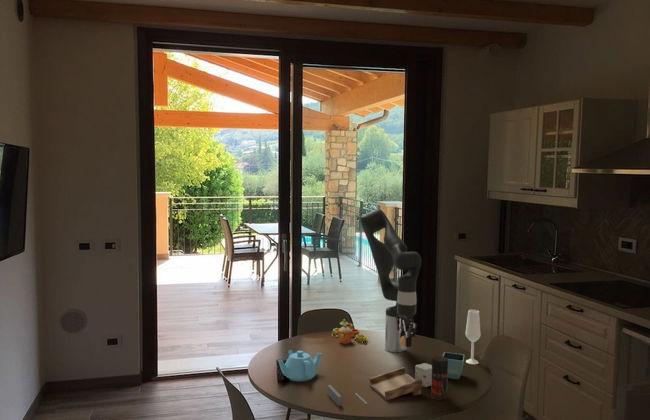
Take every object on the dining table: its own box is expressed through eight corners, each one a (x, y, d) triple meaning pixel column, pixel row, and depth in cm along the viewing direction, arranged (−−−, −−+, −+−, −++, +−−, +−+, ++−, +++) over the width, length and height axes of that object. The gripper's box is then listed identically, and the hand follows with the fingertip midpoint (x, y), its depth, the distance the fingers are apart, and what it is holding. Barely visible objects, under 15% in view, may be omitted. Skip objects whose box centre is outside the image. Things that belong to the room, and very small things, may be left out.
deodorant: (429, 393, 197) (430, 356, 196) (444, 393, 197) (445, 355, 197) (433, 400, 191) (434, 361, 190) (449, 400, 192) (450, 361, 191)
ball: (398, 345, 203) (398, 334, 202) (407, 344, 204) (408, 333, 204) (403, 348, 198) (403, 337, 198) (413, 347, 200) (413, 336, 199)
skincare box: (414, 382, 208) (414, 365, 207) (424, 379, 211) (424, 362, 211) (425, 387, 203) (426, 369, 202) (435, 384, 206) (436, 366, 206)
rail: (330, 393, 196) (330, 384, 195) (341, 405, 185) (341, 396, 185) (327, 394, 195) (327, 385, 195) (338, 406, 185) (338, 396, 185)
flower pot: (464, 374, 217) (464, 354, 217) (462, 382, 209) (463, 361, 208) (443, 371, 220) (443, 351, 219) (441, 379, 212) (441, 358, 211)
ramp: (403, 381, 209) (404, 366, 209) (422, 394, 196) (422, 379, 196) (368, 386, 203) (369, 371, 203) (385, 400, 190) (385, 385, 190)
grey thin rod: (351, 388, 201) (351, 387, 201) (368, 403, 187) (368, 403, 187) (349, 388, 201) (349, 388, 201) (365, 404, 187) (365, 403, 187)
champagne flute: (463, 364, 230) (465, 312, 228) (465, 359, 236) (466, 308, 234) (479, 366, 227) (480, 313, 226) (480, 361, 233) (482, 310, 232)
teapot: (275, 380, 208) (275, 355, 207) (288, 368, 222) (288, 344, 221) (310, 385, 203) (311, 359, 203) (321, 372, 218) (322, 347, 217)
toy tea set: (370, 344, 256) (370, 326, 255) (341, 347, 251) (342, 328, 251) (351, 330, 281) (352, 313, 280) (325, 332, 276) (325, 315, 275)
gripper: (390, 298, 206) (389, 340, 207) (406, 306, 192) (405, 351, 193) (406, 297, 208) (405, 338, 209) (424, 305, 195) (422, 349, 195)
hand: (405, 344), depth 201 cm, fingers closed on ball, 4 cm apart
